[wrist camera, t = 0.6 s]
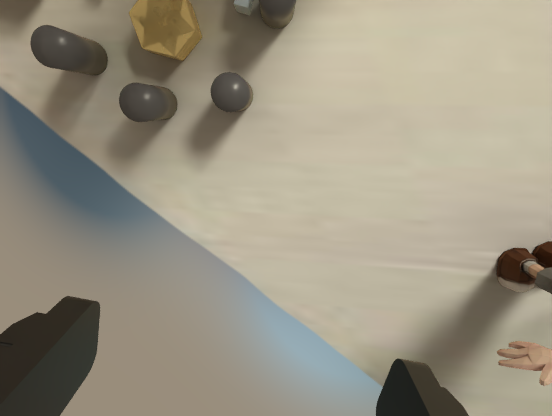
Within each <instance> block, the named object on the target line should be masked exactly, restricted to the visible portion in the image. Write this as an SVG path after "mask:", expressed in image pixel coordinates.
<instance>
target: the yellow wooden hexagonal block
mask: <svg viewBox="0 0 552 416" xmlns="http://www.w3.org/2000/svg"><path fill="white" fill-rule="evenodd" d="M129 15H130V17H131V20H132V23H133V25H134V28H135V31H136V33H137V36H138V39H139V41H140V44H141V47H142V48H143V49H145V50H147V51H150V52H152V53H154V54H158V55H162V56H166V57H170V58H174V59H178V60H181V61H184V59H185V58H186V57H187V56H188V55H189V53H190V52H191V51H192V50H193V48H194V47H195V46H196V45H197V43H198V42H199V41H200V40H201V38H202V35H201V31H200V28H199V25H198V22H197V19H196V16H195V13H194V10H193V7H192V4H191V3H190V2H189V0H138V1H137V2H136V4H135V5H134V6H133V8H132V9H131V10H130V12H129Z"/></svg>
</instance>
